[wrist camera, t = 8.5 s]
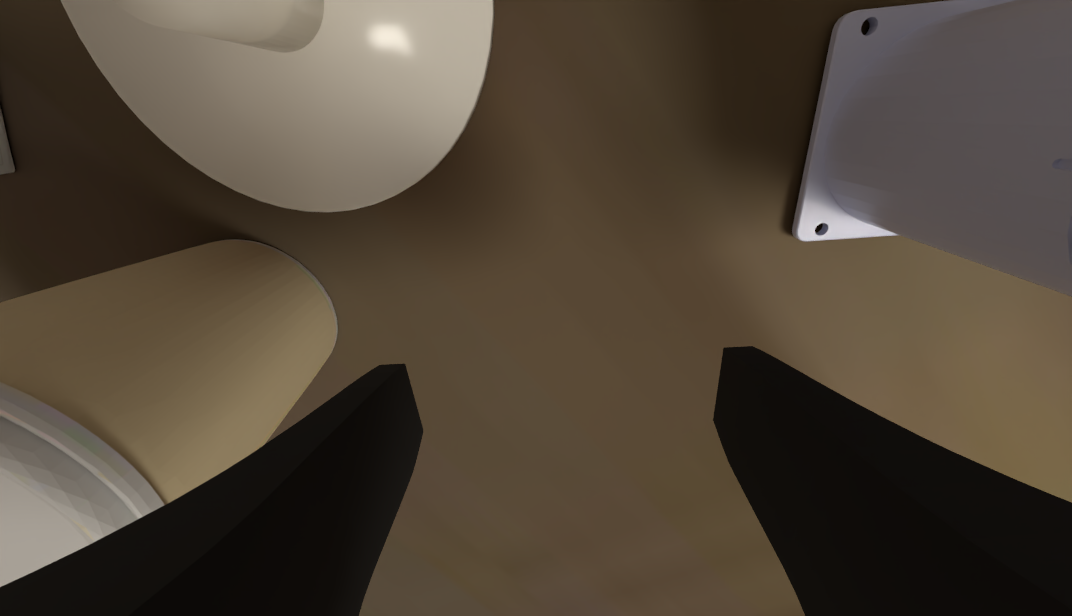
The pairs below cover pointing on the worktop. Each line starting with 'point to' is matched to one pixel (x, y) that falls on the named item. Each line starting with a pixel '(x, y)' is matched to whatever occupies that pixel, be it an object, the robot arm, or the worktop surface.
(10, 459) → the coffee cup
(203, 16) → the lid
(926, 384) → the worktop surface
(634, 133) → the worktop surface
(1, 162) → the supplement box
